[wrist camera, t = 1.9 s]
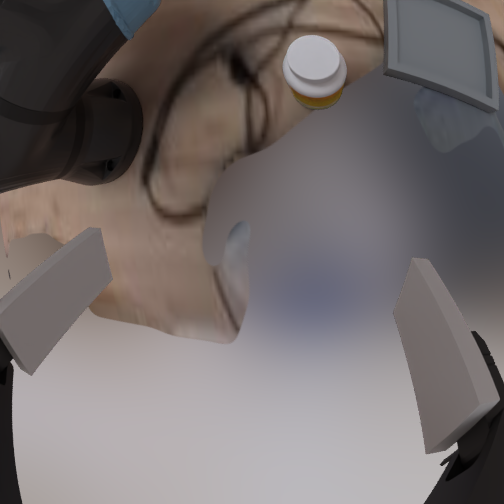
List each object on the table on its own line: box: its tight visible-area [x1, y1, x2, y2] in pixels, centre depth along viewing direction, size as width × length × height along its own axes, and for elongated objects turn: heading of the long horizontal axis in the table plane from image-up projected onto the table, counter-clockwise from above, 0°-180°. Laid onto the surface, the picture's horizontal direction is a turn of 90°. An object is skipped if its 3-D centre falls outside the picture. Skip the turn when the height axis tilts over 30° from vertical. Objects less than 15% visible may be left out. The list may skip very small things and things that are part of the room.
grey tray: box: [383, 0, 499, 113], centre depth 18 cm, size 14×14×2 cm
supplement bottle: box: [283, 35, 347, 110], centre depth 21 cm, size 5×5×10 cm
